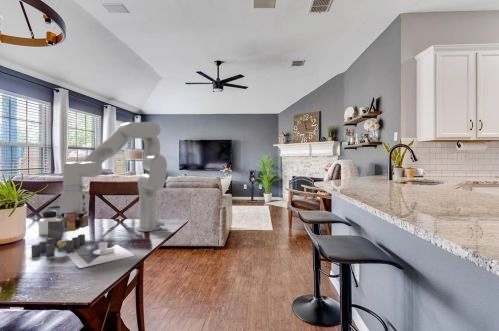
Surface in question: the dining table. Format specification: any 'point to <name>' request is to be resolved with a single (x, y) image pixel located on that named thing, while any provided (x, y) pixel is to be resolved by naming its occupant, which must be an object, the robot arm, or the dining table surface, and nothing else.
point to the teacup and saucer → (102, 255)
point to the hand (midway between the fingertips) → (73, 227)
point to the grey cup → (57, 214)
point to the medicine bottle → (46, 221)
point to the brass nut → (61, 245)
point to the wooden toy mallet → (56, 225)
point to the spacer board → (50, 248)
